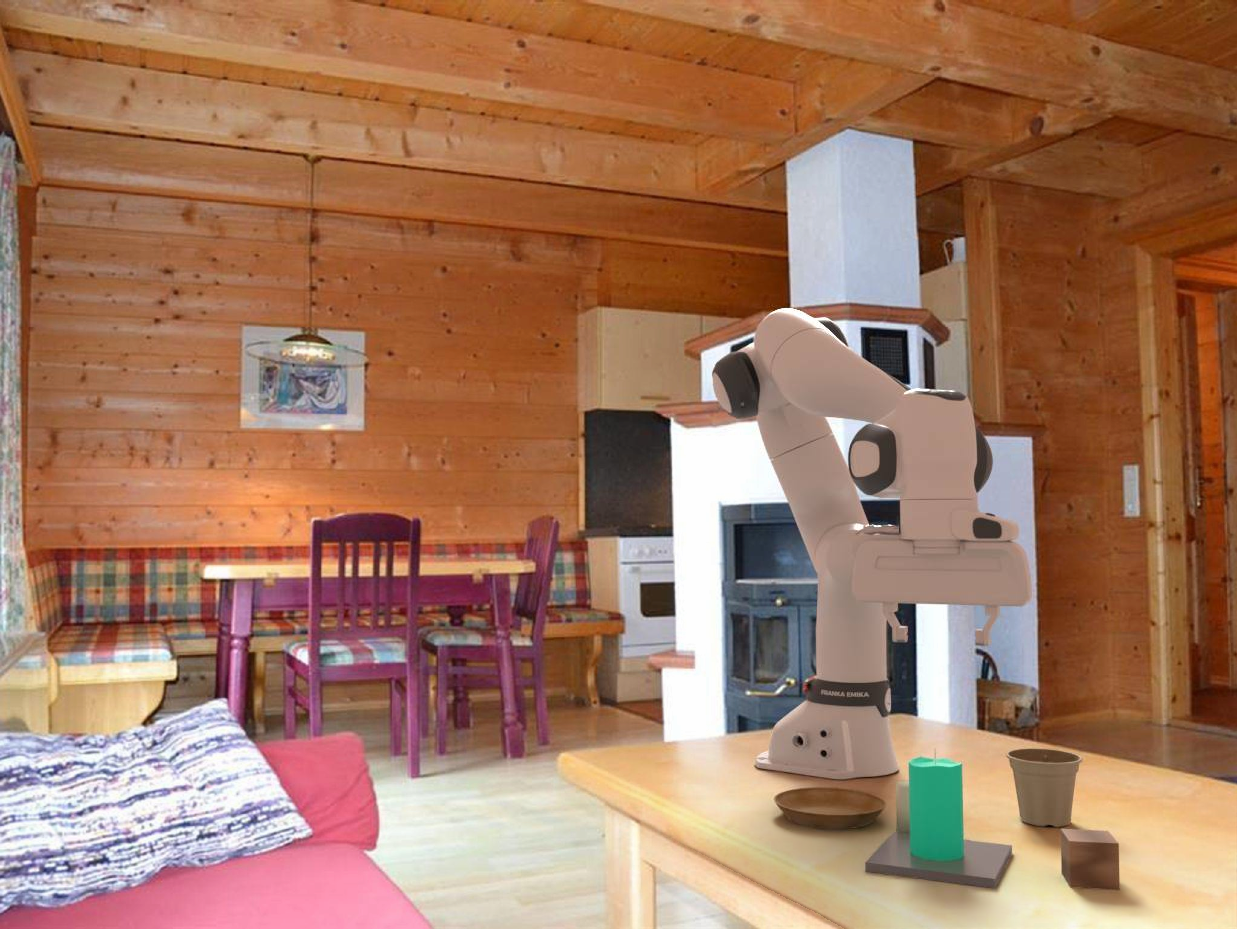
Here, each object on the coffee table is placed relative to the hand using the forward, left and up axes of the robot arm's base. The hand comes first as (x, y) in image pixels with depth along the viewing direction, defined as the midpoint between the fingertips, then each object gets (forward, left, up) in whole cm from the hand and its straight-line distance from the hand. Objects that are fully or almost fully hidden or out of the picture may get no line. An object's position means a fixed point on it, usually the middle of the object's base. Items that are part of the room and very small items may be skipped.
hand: (940, 643), depth 133 cm
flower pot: (+9, +24, -25) cm, 36 cm away
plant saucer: (-17, +14, -26) cm, 34 cm away
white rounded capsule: (-5, +11, -25) cm, 28 cm away
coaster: (0, 0, -25) cm, 25 cm away
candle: (-1, 0, -24) cm, 24 cm away
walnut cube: (+16, 0, -25) cm, 30 cm away
